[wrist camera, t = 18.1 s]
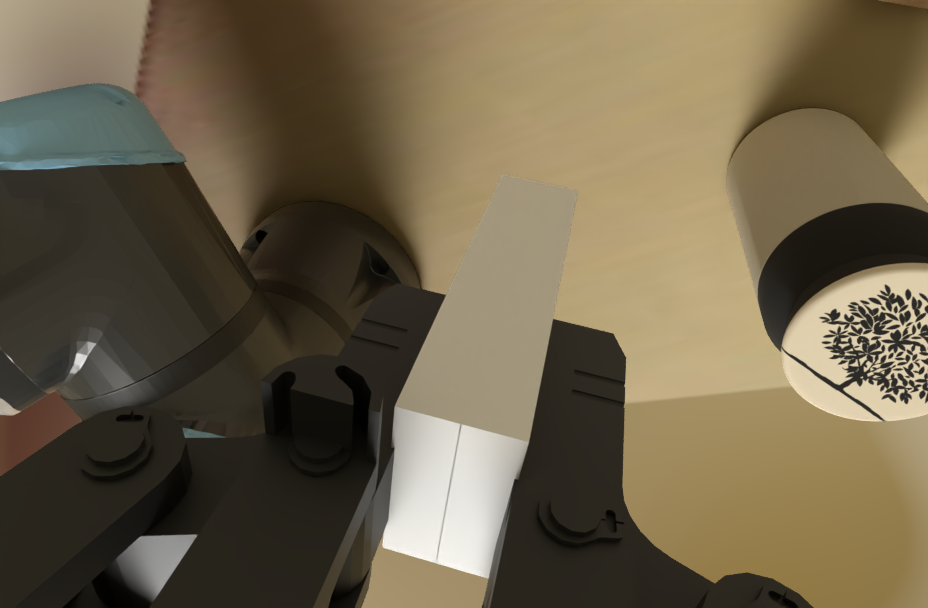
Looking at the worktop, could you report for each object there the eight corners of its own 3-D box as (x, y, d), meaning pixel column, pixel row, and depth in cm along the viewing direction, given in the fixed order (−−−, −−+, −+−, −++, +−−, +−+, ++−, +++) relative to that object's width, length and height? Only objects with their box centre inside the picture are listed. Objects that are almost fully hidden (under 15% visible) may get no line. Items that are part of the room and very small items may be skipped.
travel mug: (816, 76, 35) (941, 218, 20) (899, 171, 36) (1069, 363, 22) (698, 171, 39) (732, 342, 25) (778, 251, 41) (853, 455, 27)
